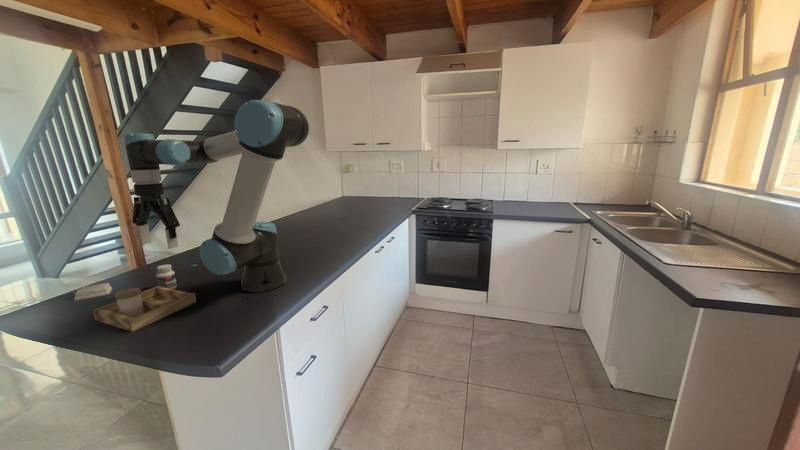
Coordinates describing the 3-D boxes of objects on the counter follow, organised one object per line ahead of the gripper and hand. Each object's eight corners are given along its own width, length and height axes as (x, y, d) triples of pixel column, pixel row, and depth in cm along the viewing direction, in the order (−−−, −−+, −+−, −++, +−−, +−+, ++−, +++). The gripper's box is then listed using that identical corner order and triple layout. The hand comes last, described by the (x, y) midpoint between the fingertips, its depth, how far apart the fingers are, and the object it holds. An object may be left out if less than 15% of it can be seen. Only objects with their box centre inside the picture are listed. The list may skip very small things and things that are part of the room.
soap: (73, 302, 103) (70, 293, 102) (79, 294, 109) (77, 286, 108) (109, 295, 108) (107, 287, 107) (113, 288, 113) (111, 280, 113)
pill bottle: (167, 294, 108) (163, 269, 106) (155, 292, 109) (150, 268, 107) (181, 287, 113) (176, 264, 111) (168, 286, 114) (164, 263, 112)
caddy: (196, 304, 100) (195, 293, 99) (133, 334, 84) (130, 321, 83) (161, 295, 106) (159, 285, 105) (95, 322, 90) (92, 310, 89)
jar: (150, 313, 93) (145, 289, 91) (128, 323, 88) (122, 297, 86) (137, 310, 95) (132, 286, 93) (116, 319, 90) (110, 294, 88)
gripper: (185, 183, 101) (196, 246, 106) (136, 180, 110) (147, 239, 115) (161, 185, 94) (173, 252, 99) (110, 182, 103) (124, 244, 108)
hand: (159, 245), depth 107 cm, fingers open, 13 cm apart
